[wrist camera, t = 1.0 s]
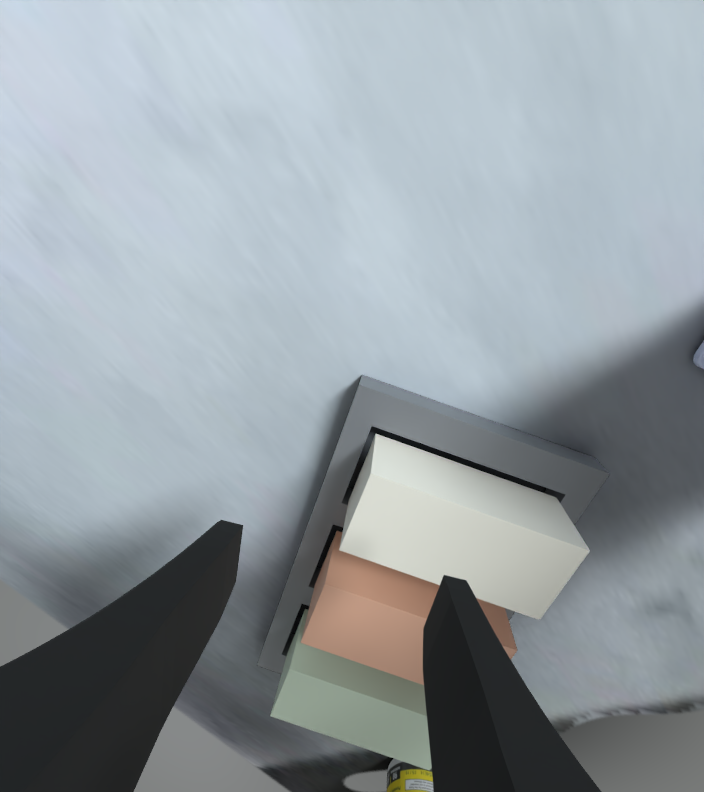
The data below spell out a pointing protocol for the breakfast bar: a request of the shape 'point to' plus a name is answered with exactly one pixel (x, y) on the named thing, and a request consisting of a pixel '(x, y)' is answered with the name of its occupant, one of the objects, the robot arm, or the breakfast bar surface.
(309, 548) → the keypad plinth
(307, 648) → the sage key
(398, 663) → the terracotta key
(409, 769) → the supplement bottle
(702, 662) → the breakfast bar surface
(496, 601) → the ivory key
